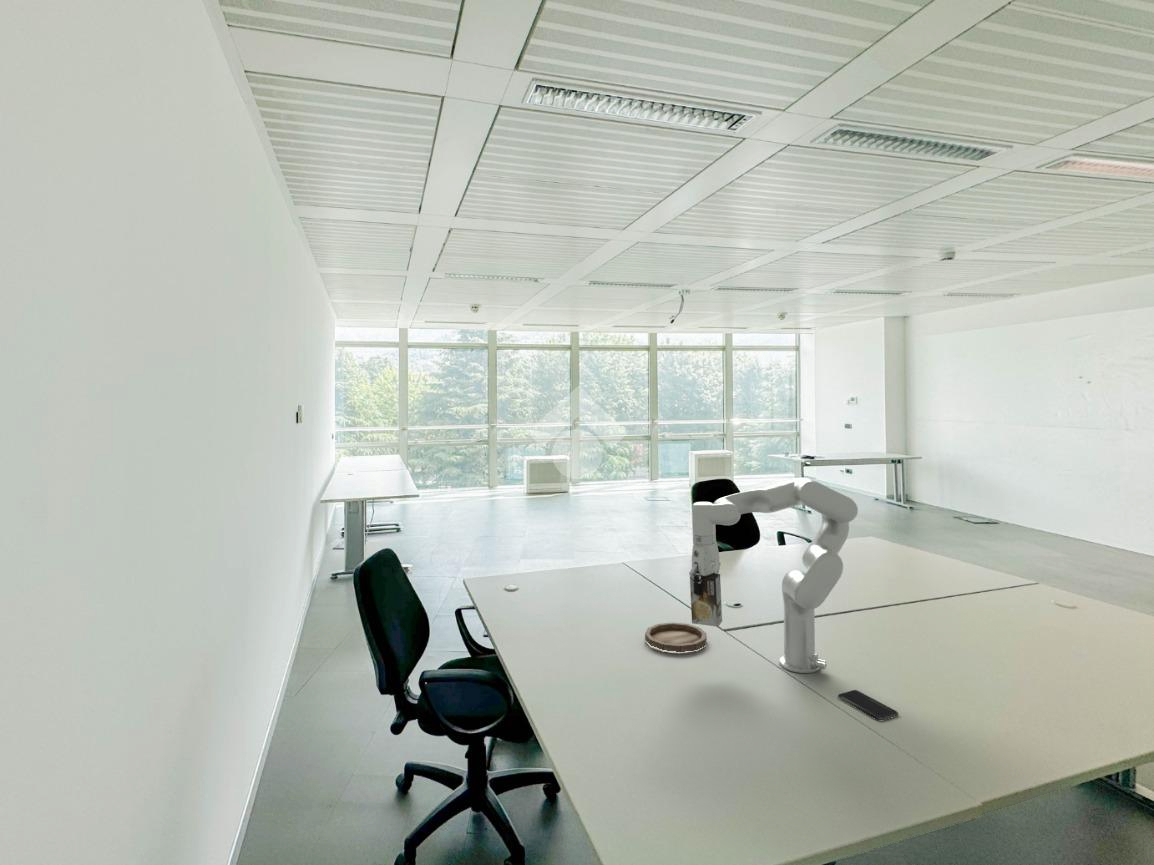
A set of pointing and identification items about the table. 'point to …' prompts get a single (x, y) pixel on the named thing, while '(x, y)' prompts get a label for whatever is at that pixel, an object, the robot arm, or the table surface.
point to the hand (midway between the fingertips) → (706, 591)
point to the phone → (868, 705)
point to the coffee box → (707, 602)
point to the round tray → (676, 637)
